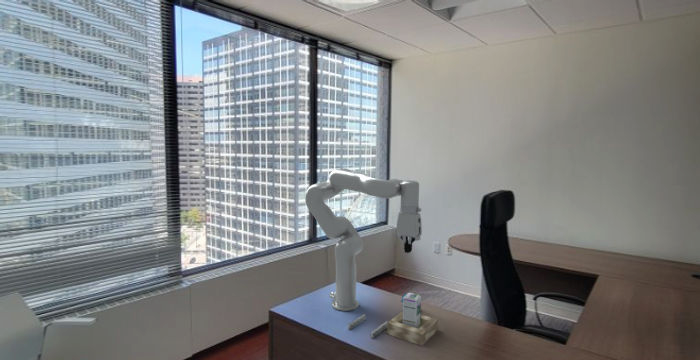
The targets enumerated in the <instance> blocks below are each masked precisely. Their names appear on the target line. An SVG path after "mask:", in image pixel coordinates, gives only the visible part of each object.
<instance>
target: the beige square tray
mask: <svg viewBox="0 0 700 360" xmlns="http://www.w3.org/2000/svg"><path fill="white" fill-rule="evenodd" d="M438 321H439V319H437V318H433V317H430V316H427V315H423V314H421V327H420V328H419V329H417V328H414V327H411V326H408V325H405V324H403V310H402V311H401V312H399V314H397V315H396V316H394V317H393V318H392V319H390V320H389V321H387V322H388V323H387V328H386V334H387V335H389V336H392V337H395V338H398V339H401V340H404V341H406V342H410V343H413V344H415V345H418V346H424V345H425V344H426V342H428V340H429V339H430V338H431V337H433V335H435V333H436V332H437V331H438V327H439V326H438V324H439V323H438Z"/></svg>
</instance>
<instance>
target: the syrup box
mask: <svg viewBox="0 0 700 360" xmlns="http://www.w3.org/2000/svg"><path fill="white" fill-rule="evenodd" d="M405 294H406V295H405ZM405 294H404V295H405V296H404V295H403V296H404V297H403V298H402V299H403V302H402V311H403V324H405V325H408V326H411V327H414V328H417V329H419V328H420V327H421V315H422V295H421V294H418V293H413V292H407V293H405Z"/></svg>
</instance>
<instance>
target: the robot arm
mask: <svg viewBox="0 0 700 360" xmlns="http://www.w3.org/2000/svg"><path fill="white" fill-rule="evenodd" d="M344 190H348V191H354V192H357V193H361V194H364V195H368V196H372V197H376V198H382V199H393V198H395V197H400V207H399V210H400V211H399V213H398V216H397V222H396V237H397V238H399V239H401V240H402V242H403V250H404V253H405V254H406V253H407V254H410V253H411V252H412V251H413V243H414V242H416V241H420V240H421V236H422V234H423V233H422V232H423V229H422V227H423V226H422V216H421V213H420V212H422V208H421V207H420V206H419V202H420V201H419V200H420V183H419V182H418V181H417V180H402V179H397V178H392V179H387V180H385V179H379V178H374V177H370V176H368V175H367V174H366V173H364V172H359V171H352V170H350V169H348V168H338V169H337V168H336V169H333V170H332V171H331V172H330V173H329V177H328V180H326V181H323V182H317V183H314V184H311V185H310V186H309V187H308V189H307V190H306V193H305V197H304V199H305V205H306V207H307V209H308V210H309V211H310V212H309V213H310V214H312V216H313V217H314V218H315V220H316V222H317V223H318V225H319V227H320V228H321V230H322V231H323V233H324V234H325V236H326V237H327V238H328V239H329V240H334V241H335V240H337V239H339V240H338V241H337V242H336V244H335V246H334V260H335V291H334V292H333V291H331V292H330V295H329V298H330V299H332V301H331V307H332V308H333V309H335V310H337V311H340V312H341V311H342V312H351V311H354V310H356V309H358V308H359V307H360V302H359V300H357V263H356V256H357V255H359V254H360V253H361V252H362V251H363V249H364V241H363V239H362V236H361V235H360V234H359V232H358V231H357V229H356V228H355V227H354V225H353V224H352V222H351V221H350V219H349V218H347V217H345V216H342V215H341V216H340V215H339V216H336V215H335V214H334V212H333V211H332V209H331V208H330V206H329V205H327V204H326V203H325V201H326V200H330V199H332V198H334V197H335V196H337V195H339V194H340V193H341V192H342V191H344Z"/></svg>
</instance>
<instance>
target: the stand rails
mask: <svg viewBox="0 0 700 360" xmlns="http://www.w3.org/2000/svg"><path fill="white" fill-rule="evenodd" d="M366 315H367V314H364V313H363V314H362V315H360V316H359V317H356V318H355V319H354V320H352V321H351V322H349V323H348V324H347V330H348V331H351V330H353V328H355V327H356V326H358V325H359V324H361V323H362V322H364V321H366V318H367V316H366ZM388 322H389V321H385V322H383V323H382V324H381V325H379V326H378V327H376V328H375V329H374V330H373V331H370V338H371V339H374V338H376V337H377V336H378V335H380V334H381V333H382V332H384V331H385V330H387V323H388Z"/></svg>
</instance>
